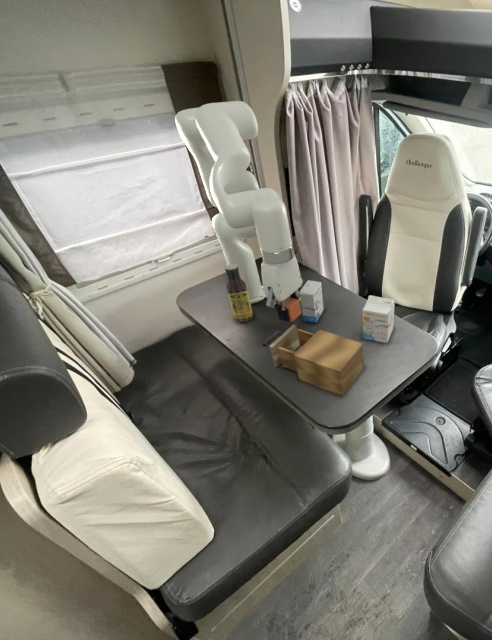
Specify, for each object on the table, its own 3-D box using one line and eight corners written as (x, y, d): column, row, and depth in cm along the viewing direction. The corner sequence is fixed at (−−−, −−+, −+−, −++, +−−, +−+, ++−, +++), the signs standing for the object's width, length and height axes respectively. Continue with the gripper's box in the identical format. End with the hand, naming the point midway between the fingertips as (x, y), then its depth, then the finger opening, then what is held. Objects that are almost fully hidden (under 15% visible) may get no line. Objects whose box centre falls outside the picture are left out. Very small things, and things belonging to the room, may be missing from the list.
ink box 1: (317, 323, 125) (312, 294, 117) (303, 321, 126) (298, 292, 118) (324, 309, 131) (321, 280, 123) (311, 307, 132) (307, 279, 124)
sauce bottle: (236, 324, 125) (219, 273, 111) (234, 315, 129) (218, 264, 115) (255, 320, 126) (241, 269, 113) (253, 311, 131) (239, 260, 117)
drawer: (260, 360, 110) (254, 341, 105) (283, 339, 117) (279, 319, 112) (312, 380, 104) (308, 360, 99) (333, 356, 111) (330, 336, 106)
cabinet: (298, 379, 105) (293, 354, 99) (322, 353, 114) (319, 329, 107) (342, 396, 101) (339, 371, 94) (363, 367, 109) (362, 343, 103)
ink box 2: (362, 339, 119) (361, 305, 110) (369, 324, 125) (369, 290, 116) (387, 343, 117) (388, 309, 108) (393, 328, 123) (395, 294, 114)
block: (279, 317, 99) (275, 304, 96) (288, 309, 102) (286, 296, 99) (292, 321, 98) (289, 308, 95) (301, 313, 101) (299, 299, 98)
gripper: (286, 237, 95) (297, 296, 107) (241, 265, 83) (259, 328, 96) (310, 242, 92) (318, 303, 104) (267, 272, 81) (282, 336, 93)
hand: (290, 314), depth 100 cm, fingers closed on block, 4 cm apart
